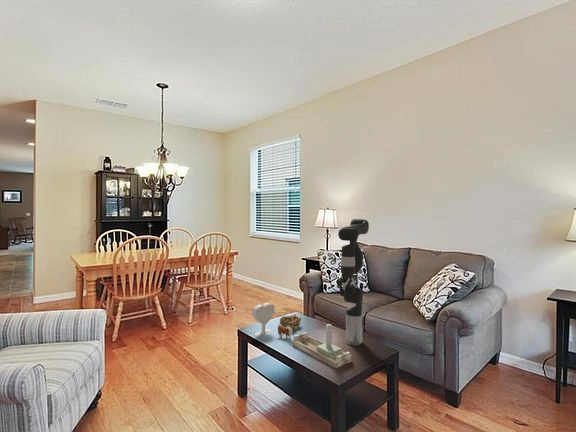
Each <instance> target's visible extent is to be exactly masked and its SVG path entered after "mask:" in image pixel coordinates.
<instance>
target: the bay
mask: <svg viewBox="0 0 576 432" xmlns="http://www.w3.org/2000/svg"><path fill="white" fill-rule="evenodd" d="M324 343H325V342H323V341H321V340H320V339H317V338H315V337H313V336H311V335H308V332H306V331H305V332H302V333H299V334H296V335H293V339H292V341H291V344H292V347H295V348H297V349H299V350H301V351H302V352H304V353H307V354H309V356H312V357H314V358H315V359H317V360H319V361H321V362H323V363H326V364H327V365H328V366H331V367H332V368H334V369H337V368H339V367H343V366H344V365H346V364H348V363H350V362H351V363H352V360H353V359H352V358H353V357H352V354H351V352H350V351H347V352H345V351H344V350H343V351H342V350H341V355H339V356H336V360H334V359H332V358H330V357H328V356H326V355H324V354H322V353H320V352H318V351H317V346H319V345H321V344H324Z"/></svg>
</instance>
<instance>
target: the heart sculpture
mask: <svg viewBox="0 0 576 432" xmlns="http://www.w3.org/2000/svg"><path fill="white" fill-rule="evenodd" d="M251 313H252V317H253V320H255V321H256V322H258V323H260V324H261V330H259V331H257V332H254V333H255V334H254V333H253V335H255V336H258V335H259V336H261V335H260V334H262V335H265V334H268V333H272V332H273V329H271V330H270V328H266V325H267V324H268V322H270V321H271V319H272V318H273V316H274V314H275V305H274V304H272V303H269V302H266V303H265V302H264V303H263V304H257V305H255V306H254V307H253V308H252V311H251ZM271 331H272V332H271ZM267 332H268V333H267ZM264 333H265V334H264ZM257 334H258V335H257Z"/></svg>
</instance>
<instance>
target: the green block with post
mask: <svg viewBox="0 0 576 432" xmlns="http://www.w3.org/2000/svg"><path fill="white" fill-rule="evenodd" d="M325 325H326V326H325V327H326V331H325V333H326V334H325V335H326V336H325V342H324V344H321V345H319V346H317V351H318V352H320V353H322V354H324V355H326V356H328V357H330V358H332V359H334V360H336V356H339V355H341V351H342V348H341V347H338V346H337V345H335V344H333V325H332V324H330V323H328V324H325Z"/></svg>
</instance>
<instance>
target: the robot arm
mask: <svg viewBox="0 0 576 432" xmlns="http://www.w3.org/2000/svg"><path fill="white" fill-rule="evenodd" d="M369 224H370V223H369V221H368V220H367V219H364V218H363V219H361V218H360V219H358V218H357V219H356V218H352V219H351V221H350V225H349V226H344V227H341V228H340V229H339V231H338V234H337V235H338V238H339V240H341V241H348V242H349V244H344V245H342V246H341V259H340V273H341V276H337V279H336V280H337V281H336V282H337V283H336V288H338V289H339V295H340V297H343V301H344V302H346V303H350V304H355V305H354V306H350V307H348V308H346V309H345V310H346V311H345V343H346V344H347V345H350V346H361V344H362V343H363V329H364V327H363V300H364V291H363V289H362V288H360V287H356V286H359V278H358V276H359V272H360V271H362V268H363V264H364V253H363V251H362V250H361V247H360V245H359V243H358V238H359V236H360V235H366V234H368V232H369V229H370V225H369Z"/></svg>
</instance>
